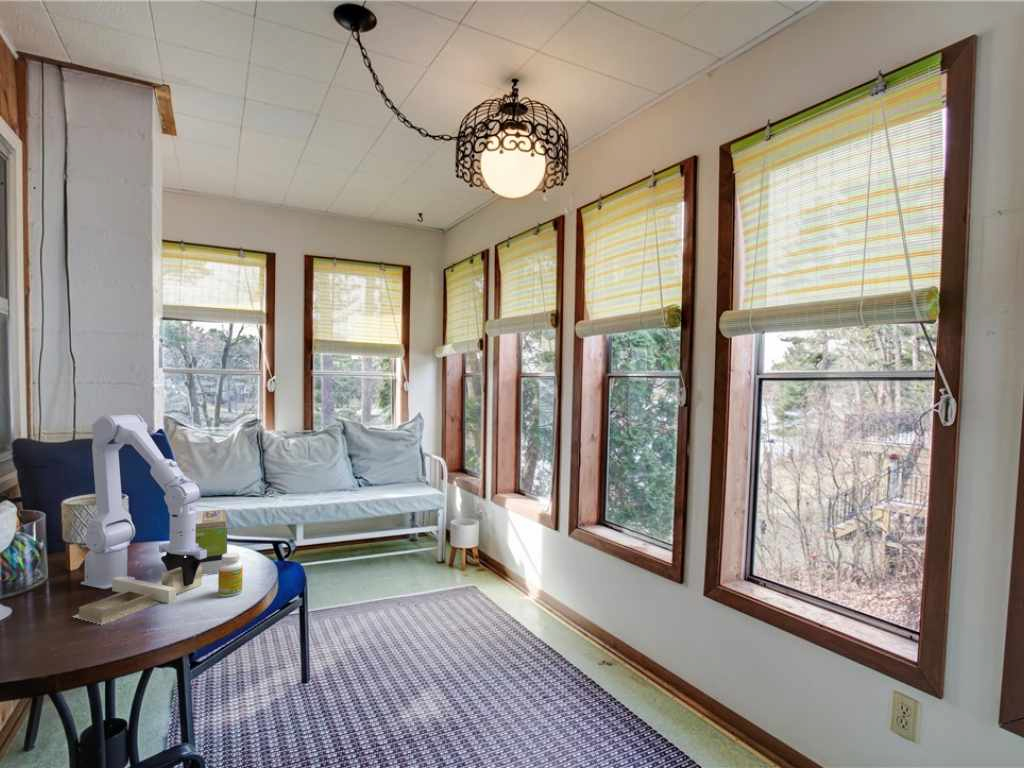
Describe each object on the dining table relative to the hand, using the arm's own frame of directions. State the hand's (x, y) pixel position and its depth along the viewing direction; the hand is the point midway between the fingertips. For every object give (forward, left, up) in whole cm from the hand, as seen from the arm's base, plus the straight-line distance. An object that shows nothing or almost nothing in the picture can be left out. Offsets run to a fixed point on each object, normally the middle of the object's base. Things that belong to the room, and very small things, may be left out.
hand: (182, 583), depth 143 cm
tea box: (-9, +15, -2) cm, 18 cm away
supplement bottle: (+13, +3, -2) cm, 13 cm away
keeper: (-2, -15, -2) cm, 15 cm away
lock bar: (0, 0, -1) cm, 1 cm away
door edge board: (-5, -6, -2) cm, 8 cm away
